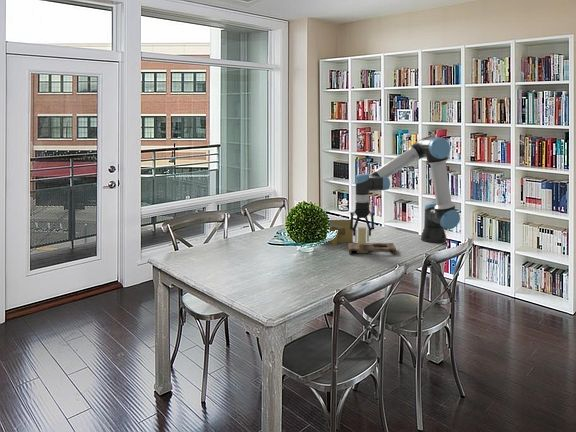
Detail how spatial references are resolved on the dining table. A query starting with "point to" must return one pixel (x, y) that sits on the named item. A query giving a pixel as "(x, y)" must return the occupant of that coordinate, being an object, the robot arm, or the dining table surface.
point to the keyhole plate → (372, 247)
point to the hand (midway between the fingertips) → (361, 241)
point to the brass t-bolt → (362, 239)
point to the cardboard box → (341, 231)
